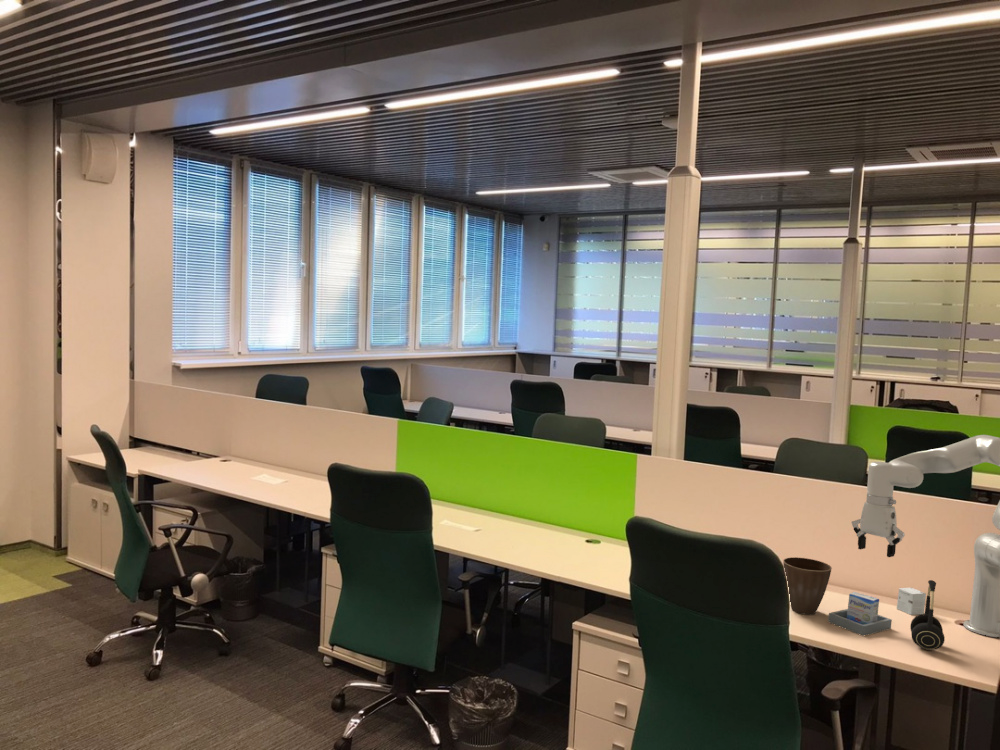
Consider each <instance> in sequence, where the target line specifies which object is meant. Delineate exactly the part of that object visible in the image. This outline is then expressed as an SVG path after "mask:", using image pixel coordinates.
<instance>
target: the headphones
mask: <svg viewBox="0 0 1000 750" xmlns="http://www.w3.org/2000/svg"><path fill="white" fill-rule="evenodd" d="M927 583H928V587H927V588H928V589H927V594H926V598H925V606H924V614H917V615H916V616H914V617H913V618H912V620H911V622H910V628H909V629H910V632H911V638H912V641H913V643H914V644H915V645H916V646H917V647H919V648H921V649H924V650H926V649H927V650H928V651H934V650H937V649H940V648H941V647H942V646H943V645H944V643H945V640H946V639H945V637H946V636H945V634H944V630H943V626H942V624H941V622H940V621H939V620H938V619H937V618H936V617H935V616H934V601H935V592H936V585H937V582H936V581H934V580H932V579H931V580H928V582H927Z"/></svg>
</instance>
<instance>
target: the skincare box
mask: <svg viewBox="0 0 1000 750" xmlns="http://www.w3.org/2000/svg"><path fill="white" fill-rule="evenodd" d="M926 599H927V593H926V592H923V591H921V590H919V589H916V588H913V587H900V588H898V596H897V602H896V609H897V610H898V611H901V612H903V613H906V614H908V615H909V616H914V615H916V616H918V615H921V614H925V607H926Z"/></svg>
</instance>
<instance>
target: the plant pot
mask: <svg viewBox="0 0 1000 750" xmlns="http://www.w3.org/2000/svg"><path fill="white" fill-rule="evenodd" d="M782 561H783V562H782V563H783V569H784V568H785V572H786V576H787V581H788V587H789V594H790V601H789V603H790V602H791V605H790V607H791V610H792V611H793V612H794V613H796V614H799V615H800V614H801V615H804V616H805V615H806V616H813V615H815V614H816V613H817V611H818V609H819V607H820V605H821V603H822V601H823V598H824V595H825V593H826V590H827V588H828V584H829V581H830V577H831V573H832V569H833V568H832V566H831V565H829V564H828V563H826V562H823V561H821V560H817V559H813V558H812V559H811V558H805V557H798V556H797V557H786V558H784V559H783V560H782Z"/></svg>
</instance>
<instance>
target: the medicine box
mask: <svg viewBox="0 0 1000 750" xmlns="http://www.w3.org/2000/svg"><path fill="white" fill-rule="evenodd" d="M879 604H880V599H879V598H877V597H873V596H870V595H867V594H864V593H859V592H856V591H853V592H851V593H849V594H848V604H847V609H848V611H847V619H849V620H852V621H854V622H857V623H859V624H862V625H864V624H868V623H872V622H876V621H877V616H878V615H879V607H880V606H879Z"/></svg>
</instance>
